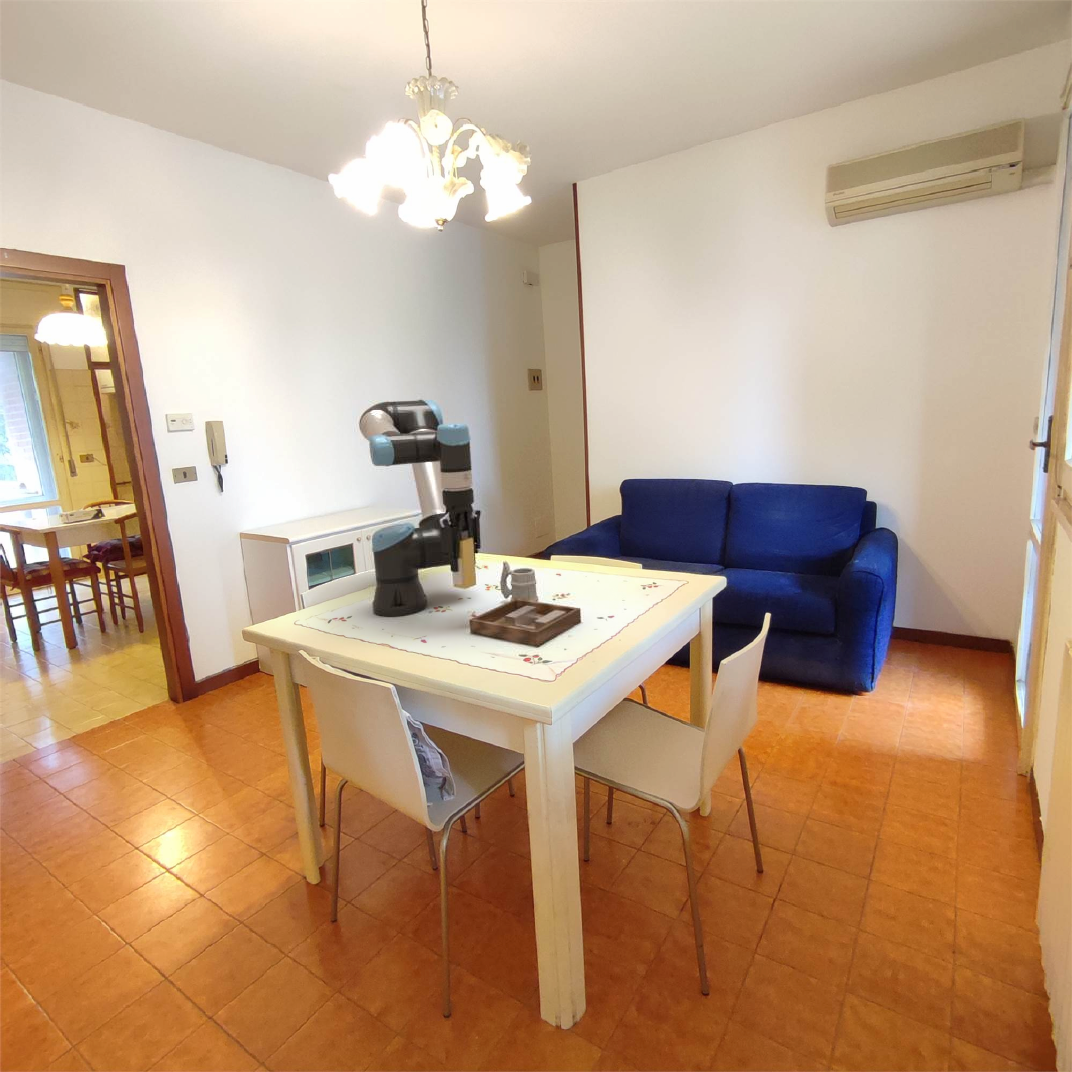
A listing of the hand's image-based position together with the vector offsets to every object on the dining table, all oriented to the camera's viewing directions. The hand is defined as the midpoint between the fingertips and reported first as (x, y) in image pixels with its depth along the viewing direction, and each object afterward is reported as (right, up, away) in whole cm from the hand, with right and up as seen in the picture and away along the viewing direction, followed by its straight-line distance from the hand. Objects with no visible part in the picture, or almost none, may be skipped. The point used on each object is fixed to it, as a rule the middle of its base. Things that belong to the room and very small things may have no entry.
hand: (464, 581), depth 156 cm
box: (+15, -11, -2) cm, 19 cm away
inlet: (+18, -12, -4) cm, 22 cm away
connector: (0, -1, 0) cm, 1 cm away
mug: (+13, -8, +17) cm, 23 cm away
